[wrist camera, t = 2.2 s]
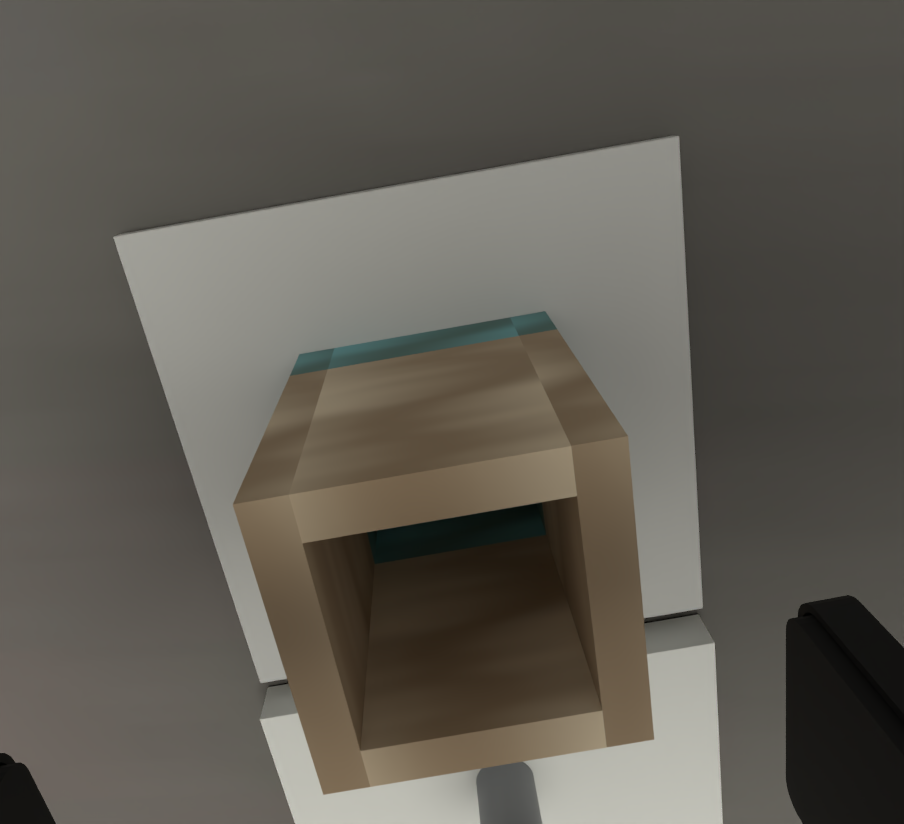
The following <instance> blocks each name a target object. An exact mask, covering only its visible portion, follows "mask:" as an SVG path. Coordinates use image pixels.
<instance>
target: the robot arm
mask: <svg viewBox="0 0 904 824" xmlns="http://www.w3.org/2000/svg"><path fill="white" fill-rule="evenodd" d="M786 783H787V788H788V792H789V795H790V798H791V801H792V804H793V806H794V808H795V810H796V812H797V814H798V816H799V818H800V819H801V821H802V823H803V824H904V648H903V647H902V646H901V645H900V644H899V643H898V641H897V640H896V639H895V638H894V637H893V636H892V635H891V634H890V633H889V632H888V631H887V630H886V629H885V628H884V627H883V626H882V625H881V624H880V623H879V622H878V620H877V619H876V618H875V617H874V616H873V615H872V614H871V613H870V612H869V611H868V610H867V609H866V608H865V607H864V606H863V605H862V604H861V603H860V602H859V601H858V600H857V599H856V598H854V597H852V596H849V595H847V596H841V597H836V598H831V599H825V600H820V601H815V602H809V603H805V604H802V605H801V606H800V608H799V611H798V617H797V618H792V619H789V620H788V622H787V626H786ZM0 824H56V823H55V821H54V819H53V817H52V815H51V813H50V811H49V809H48V807H47V805H46V803H45V801H44V799H43V797H42V795H41V793H40V791H39V789H38V788H37V786H36V784H35V782H34V780H33V778H32V776H31V774H30V772H29V770H28V768H27V767H26V766H25V765H24V764H22V763H15V762H14V760H13V759H12V757H11V756H9V755H7V754H5V753H0Z"/></svg>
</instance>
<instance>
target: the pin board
mask: <svg viewBox="0 0 904 824" xmlns="http://www.w3.org/2000/svg"><path fill="white" fill-rule="evenodd" d="M644 626H645V638H646V649H647V661H648V673H649V684H650V696H651V707H652V719H653V731H654V740H649V741H643V742H637V743H631V744H625V745H619V746H613V747H607V748H601V749H595V750H589V751H583V752H577V753H571V754H565V755H559V756H553V757H547V758H541V759H535V760H529V761H523V762H517V763H511V764H505V765H499V766H493V767H487V768H481V769H475V770H469V771H463V772H457V773H451V774H445V775H439V776H433V777H427V778H421V779H415V780H409V781H403V782H397V783H391V784H385V785H379V786H373V787H367V788H361V789H355V790H349V791H343V792H338V793H332V794H326V795H323V792H322V789H321V786H320V783H319V779H318V776H317V773H316V770H315V767H314V763H313V760H312V757H311V754H310V751H309V747H308V744H307V741H306V738H305V735H304V731H303V728H302V725H301V722H300V719H299V715H298V712H297V709H296V706H295V703H294V699H293V696H292V693H291V690H290V687H289V684H284V685H278V686H272V687H268V689H267V693H266V697H265V701H264V705H263V709H262V713H261V717H260V721H261V724H262V727H263V730H264V733H265V736H266V739H267V742H268V745H269V748H270V751H271V754H272V757H273V760H274V763H275V766H276V769H277V772H278V774H279V777H280V780H281V783H282V786H283V789H284V792H285V795H286V798H287V801H288V804H289V807H290V810H291V813H292V816H293V819H294V822H295V824H723V819H722V797H721V774H720V751H719V729H718V706H717V684H716V661H715V643H714V641H713V639H712V637H711V635H710V634H709V632H708V630H707V628H706V627H705V625H704V623H703V621H702V620H701V618H700V616H699V614H697V615H691V616H686V617H680V618H674V619H668V620H662V621H656V622H650V623H644Z"/></svg>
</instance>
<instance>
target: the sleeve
mask: <svg viewBox="0 0 904 824" xmlns="http://www.w3.org/2000/svg"><path fill="white" fill-rule="evenodd" d="M534 503H535V504H534ZM528 504H530V505H528ZM523 505H524V506H523ZM517 506H518V507H517ZM233 507H234V511H235V514H236V517H237V520H238V523H239V527H240V530H241V533H242V536H243V539H244V543H245V546H246V549H247V552H248V555H249V559H250V562H251V565H252V568H253V571H254V575H255V578H256V581H257V584H258V587H259V591H260V594H261V597H262V600H263V603H264V607H265V610H266V613H267V616H268V619H269V623H270V626H271V629H272V632H273V635H274V639H275V642H276V645H277V648H278V651H279V655H280V658H281V661H282V664H283V667H284V671H285V674H286V677H287V680H288V683H289V687H290V690H291V693H292V696H293V699H294V703H295V706H296V709H297V712H298V715H299V719H300V722H301V725H302V728H303V731H304V735H305V738H306V741H307V744H308V747H309V751H310V754H311V757H312V760H313V763H314V767H315V770H316V773H317V776H318V779H319V783H320V786H321V789H322V792H323V795H326V794H332V793H338V792H343V791H349V790H355V789H361V788H367V787H373V786H379V785H385V784H391V783H397V782H403V781H409V780H415V779H421V778H427V777H433V776H439V775H445V774H451V773H457V772H463V771H469V770H475V769H481V768H487V767H493V766H499V765H505V764H511V763H517V762H523V761H529V760H535V759H541V758H547V757H553V756H559V755H565V754H571V753H577V752H583V751H589V750H595V749H601V748H607V747H613V746H619V745H625V744H631V743H637V742H643V741H649V740H654V731H653V719H652V707H651V696H650V684H649V673H648V661H647V649H646V638H645V626H644V615H643V603H642V592H641V580H640V568H639V557H638V545H637V534H636V522H635V510H634V499H633V487H632V476H631V464H630V453H629V441H628V435H627V434H626V432H625V431H624V429H623V428H622V426H621V425H620V423H619V422H618V420H617V419H616V417H615V416H614V414H613V413H612V411H611V410H610V408H609V407H608V405H607V404H606V402H605V401H604V399H603V398H602V396H601V395H600V393H599V391H598V390H597V388H596V387H595V385H594V384H593V382H592V381H591V379H590V378H589V376H588V375H587V373H586V372H585V370H584V369H583V367H582V366H581V364H580V363H579V361H578V360H577V358H576V357H575V355H574V354H573V352H572V351H571V349H570V348H569V346H568V345H567V343H566V342H565V340H564V339H563V337H562V336H561V334H560V333H559V331H558V330H557V328H556V327H555V325H554V324H553V322H552V321H551V319H550V318H549V316H548V315H547V313H546V312H545V311H543V312H537V313H532V314H526V315H520V316H514V317H509V318H503V319H497V320H492V321H486V322H480V323H475V324H469V325H463V326H457V327H452V328H446V329H440V330H435V331H429V332H423V333H417V334H412V335H406V336H400V337H395V338H389V339H383V340H378V341H372V342H366V343H360V344H355V345H349V346H343V347H338V348H332V349H326V350H321V351H315V352H309V353H303V354H299V356H298V359H297V361H296V363H295V365H294V368H293V370H292V372H291V374H290V377H289V379H288V381H287V383H286V386H285V388H284V390H283V392H282V395H281V397H280V399H279V401H278V404H277V406H276V408H275V410H274V413H273V415H272V417H271V419H270V422H269V424H268V426H267V428H266V430H265V433H264V435H263V437H262V439H261V442H260V444H259V446H258V448H257V451H256V453H255V455H254V457H253V460H252V462H251V464H250V466H249V469H248V471H247V473H246V475H245V478H244V480H243V482H242V484H241V487H240V489H239V491H238V493H237V496H236V498H235V500H234V502H233ZM511 507H512V508H511ZM505 508H506V509H505ZM499 509H500V510H499ZM493 510H495V511H493ZM488 511H489V512H488ZM482 512H483V513H482ZM476 513H477V514H476ZM470 514H471V515H470ZM464 515H465V516H464ZM459 516H460V517H459ZM453 517H454V518H453ZM447 518H448V519H447ZM441 519H442V520H441ZM435 520H436V521H435ZM429 521H431V522H429ZM424 522H425V523H424ZM418 523H419V524H418ZM412 524H413V525H412ZM406 525H407V526H406ZM400 526H401V527H400ZM394 527H396V528H394ZM389 528H390V529H389ZM383 529H384V530H383ZM377 530H378V531H377Z"/></svg>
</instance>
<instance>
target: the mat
mask: <svg viewBox="0 0 904 824" xmlns="http://www.w3.org/2000/svg"><path fill="white" fill-rule="evenodd" d="M113 238H114V241H115V244H116V247H117V250H118V253H119V256H120V259H121V262H122V265H123V268H124V271H125V274H126V277H127V280H128V283H129V286H130V289H131V292H132V295H133V298H134V301H135V304H136V307H137V310H138V313H139V316H140V320H141V323H142V326H143V329H144V332H145V335H146V338H147V341H148V344H149V347H150V350H151V353H152V356H153V359H154V362H155V365H156V368H157V371H158V374H159V377H160V380H161V383H162V386H163V389H164V392H165V395H166V398H167V401H168V404H169V407H170V410H171V413H172V416H173V419H174V423H175V426H176V429H177V432H178V435H179V438H180V441H181V444H182V447H183V450H184V453H185V456H186V459H187V462H188V465H189V468H190V471H191V474H192V477H193V480H194V483H195V486H196V489H197V492H198V495H199V498H200V501H201V504H202V507H203V510H204V513H205V516H206V519H207V522H208V526H209V529H210V532H211V535H212V538H213V541H214V544H215V547H216V550H217V553H218V556H219V559H220V562H221V565H222V568H223V571H224V574H225V577H226V580H227V583H228V586H229V589H230V592H231V595H232V598H233V601H234V604H235V607H236V610H237V613H238V616H239V619H240V622H241V626H242V629H243V632H244V635H245V638H246V641H247V644H248V647H249V650H250V653H251V656H252V659H253V662H254V665H255V668H256V671H257V674H258V677H259V680H260V683H265V682H271V681H277V680H282V679H287V677H286V674H285V671H284V667H283V664H282V661H281V658H280V655H279V651H278V648H277V645H276V642H275V639H274V635H273V632H272V629H271V626H270V623H269V619H268V616H267V613H266V610H265V607H264V603H263V600H262V597H261V594H260V591H259V587H258V584H257V581H256V578H255V575H254V571H253V568H252V565H251V562H250V559H249V555H248V552H247V549H246V546H245V543H244V539H243V536H242V533H241V530H240V527H239V523H238V520H237V517H236V514H235V511H234V507H233V502H234V500H235V498H236V496H237V493H238V491H239V489H240V487H241V484H242V482H243V480H244V478H245V475H246V473H247V471H248V469H249V466H250V464H251V462H252V460H253V457H254V455H255V453H256V451H257V448H258V446H259V444H260V442H261V439H262V437H263V435H264V433H265V430H266V428H267V426H268V424H269V422H270V419H271V417H272V415H273V413H274V410H275V408H276V406H277V404H278V401H279V399H280V397H281V395H282V392H283V390H284V388H285V386H286V383H287V381H288V379H289V377H290V374H291V372H292V370H293V368H294V365H295V363H296V361H297V359H298V356H299V354H303V353H309V352H315V351H321V350H326V349H332V348H338V347H343V346H349V345H355V344H360V343H366V342H372V341H378V340H383V339H389V338H395V337H400V336H406V335H412V334H417V333H423V332H429V331H435V330H440V329H446V328H452V327H457V326H463V325H469V324H475V323H480V322H486V321H492V320H497V319H503V318H509V317H514V316H520V315H526V314H532V313H537V312H543V311H545V312H546V313H547V315H548V316H549V318H550V319H551V321H552V322H553V324H554V325H555V327H556V328H557V330H558V331H559V333H560V334H561V336H562V337H563V339H564V340H565V342H566V343H567V345H568V346H569V348H570V349H571V351H572V352H573V354H574V355H575V357H576V358H577V360H578V361H579V363H580V364H581V366H582V367H583V369H584V370H585V372H586V373H587V375H588V376H589V378H590V379H591V381H592V382H593V384H594V385H595V387H596V388H597V390H598V391H599V393H600V395H601V396H602V398H603V399H604V401H605V402H606V404H607V405H608V407H609V408H610V410H611V411H612V413H613V414H614V416H615V417H616V419H617V420H618V422H619V423H620V425H621V426H622V428H623V429H624V431H625V432H626V434H627V435H628V441H629V453H630V464H631V476H632V487H633V499H634V510H635V522H636V534H637V545H638V557H639V568H640V580H641V592H642V603H643V615H644V618H648V617H654V616H660V615H666V614H672V613H678V612H684V611H690V610H696V609H702V608H703V600H702V580H701V561H700V541H699V521H698V501H697V481H696V461H695V442H694V422H693V402H692V382H691V362H690V342H689V323H688V303H687V283H686V263H685V243H684V223H683V204H682V184H681V164H680V144H679V136H667V137H661V138H656V139H650V140H645V141H639V142H633V143H628V144H622V145H616V146H611V147H605V148H600V149H594V150H588V151H583V152H577V153H572V154H566V155H560V156H555V157H549V158H543V159H538V160H532V161H527V162H521V163H515V164H510V165H504V166H499V167H493V168H487V169H482V170H476V171H471V172H465V173H459V174H454V175H448V176H442V177H437V178H431V179H426V180H420V181H414V182H409V183H403V184H398V185H392V186H386V187H381V188H375V189H369V190H364V191H358V192H353V193H347V194H341V195H336V196H330V197H325V198H319V199H313V200H308V201H302V202H297V203H291V204H285V205H280V206H274V207H268V208H263V209H257V210H252V211H246V212H240V213H235V214H229V215H224V216H218V217H212V218H207V219H201V220H195V221H190V222H184V223H179V224H173V225H167V226H162V227H156V228H151V229H145V230H139V231H134V232H128V233H123V234H119V235H116V236H114V237H113ZM534 504H535V503H534ZM528 505H530V504H528ZM523 506H524V505H523ZM517 507H518V506H517ZM511 508H512V507H511ZM505 509H506V508H505ZM499 510H500V509H499ZM493 511H495V510H493ZM488 512H489V511H488ZM482 513H483V512H482ZM476 514H477V513H476ZM470 515H471V514H470ZM464 516H465V515H464ZM459 517H460V516H459ZM453 518H454V517H453ZM447 519H448V518H447ZM441 520H442V519H441ZM435 521H436V520H435ZM429 522H431V521H429ZM424 523H425V522H424ZM418 524H419V523H418ZM412 525H413V524H412ZM406 526H407V525H406ZM400 527H401V526H400ZM394 528H396V527H394ZM389 529H390V528H389ZM383 530H384V529H383ZM377 531H378V530H377Z"/></svg>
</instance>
